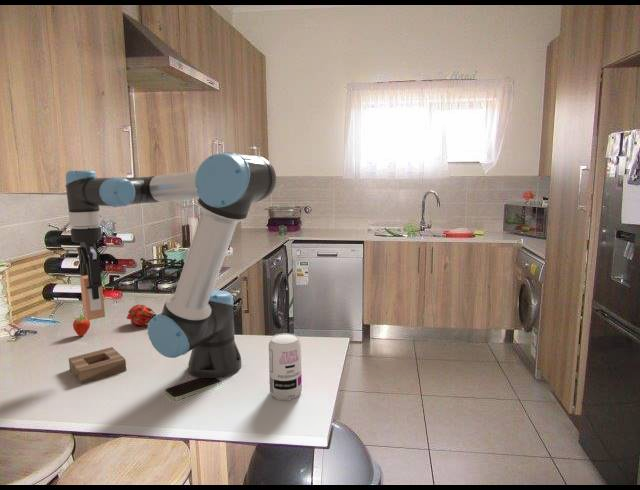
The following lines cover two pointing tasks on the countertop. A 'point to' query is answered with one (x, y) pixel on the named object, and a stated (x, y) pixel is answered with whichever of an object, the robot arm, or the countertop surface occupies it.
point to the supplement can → (285, 366)
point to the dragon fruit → (140, 315)
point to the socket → (97, 364)
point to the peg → (86, 302)
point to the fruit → (81, 325)
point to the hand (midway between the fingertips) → (93, 307)
